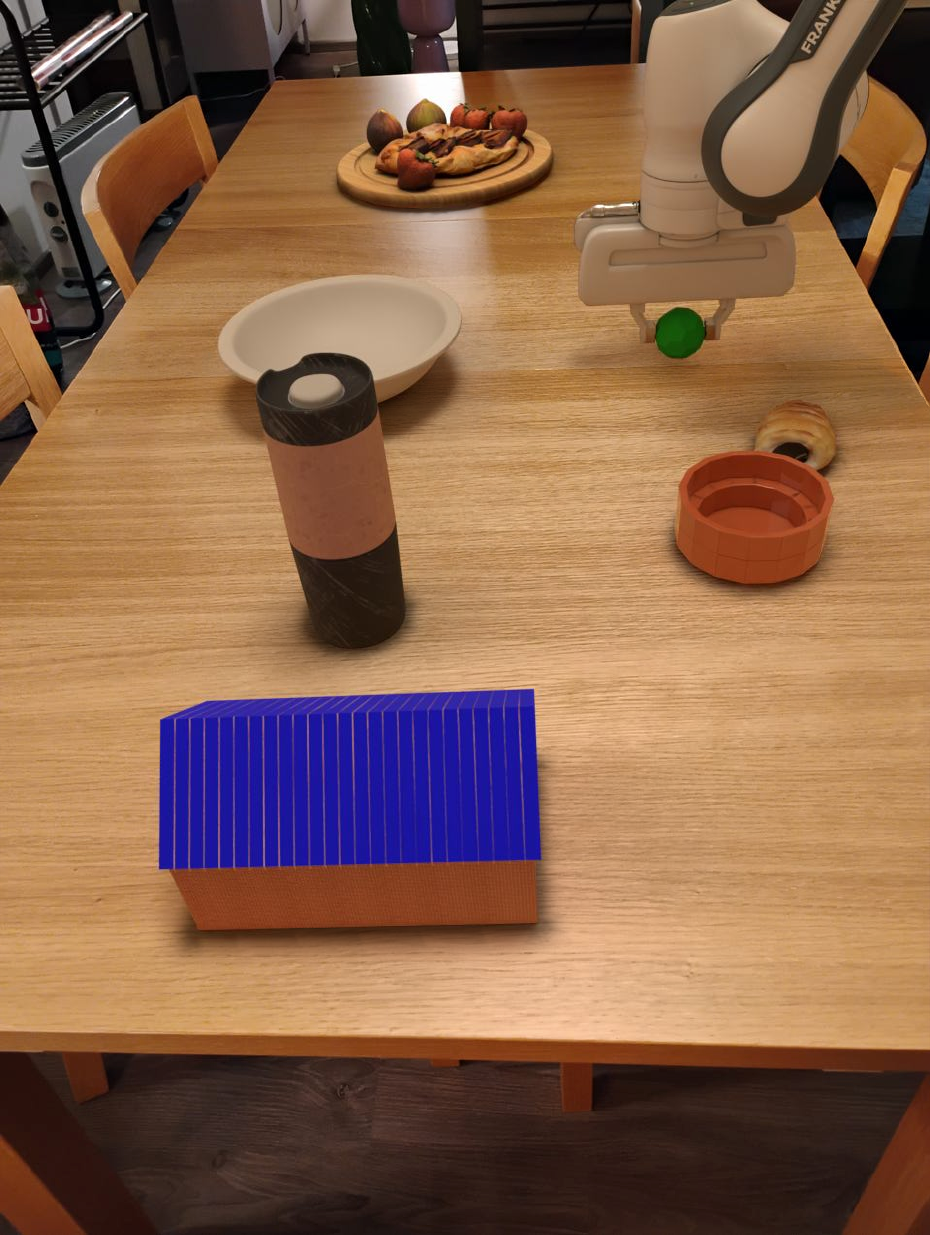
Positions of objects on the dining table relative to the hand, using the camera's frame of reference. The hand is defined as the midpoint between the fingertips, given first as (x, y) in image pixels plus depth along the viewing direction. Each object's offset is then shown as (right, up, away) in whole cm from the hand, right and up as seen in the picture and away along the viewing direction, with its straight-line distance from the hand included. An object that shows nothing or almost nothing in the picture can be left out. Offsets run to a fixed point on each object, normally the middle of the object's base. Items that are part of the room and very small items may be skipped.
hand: (679, 339), depth 99 cm
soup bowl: (-33, -4, +3) cm, 34 cm away
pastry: (+7, -13, -12) cm, 19 cm away
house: (-27, -42, -39) cm, 63 cm away
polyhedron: (0, -1, +1) cm, 2 cm away
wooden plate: (-24, +38, +48) cm, 65 cm away
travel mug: (-29, -28, -24) cm, 47 cm away
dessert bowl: (+1, -22, -21) cm, 30 cm away
